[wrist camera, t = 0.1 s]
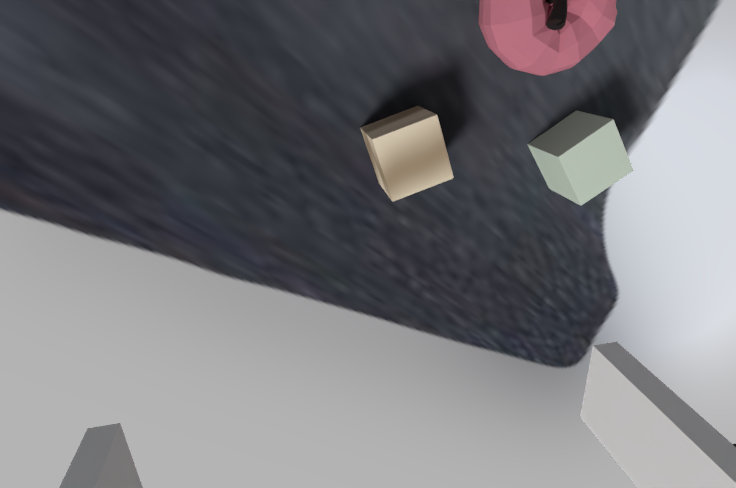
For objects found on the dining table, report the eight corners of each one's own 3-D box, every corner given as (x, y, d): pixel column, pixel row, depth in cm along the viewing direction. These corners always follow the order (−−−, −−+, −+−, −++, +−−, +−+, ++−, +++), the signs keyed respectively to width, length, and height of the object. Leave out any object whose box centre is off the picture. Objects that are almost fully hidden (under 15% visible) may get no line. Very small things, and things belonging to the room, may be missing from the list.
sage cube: (527, 144, 41) (558, 157, 37) (575, 110, 41) (613, 119, 36) (548, 188, 43) (580, 205, 39) (595, 156, 43) (633, 170, 38)
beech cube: (360, 127, 38) (372, 139, 33) (417, 105, 38) (437, 114, 34) (379, 183, 40) (392, 201, 36) (433, 162, 40) (453, 177, 36)
